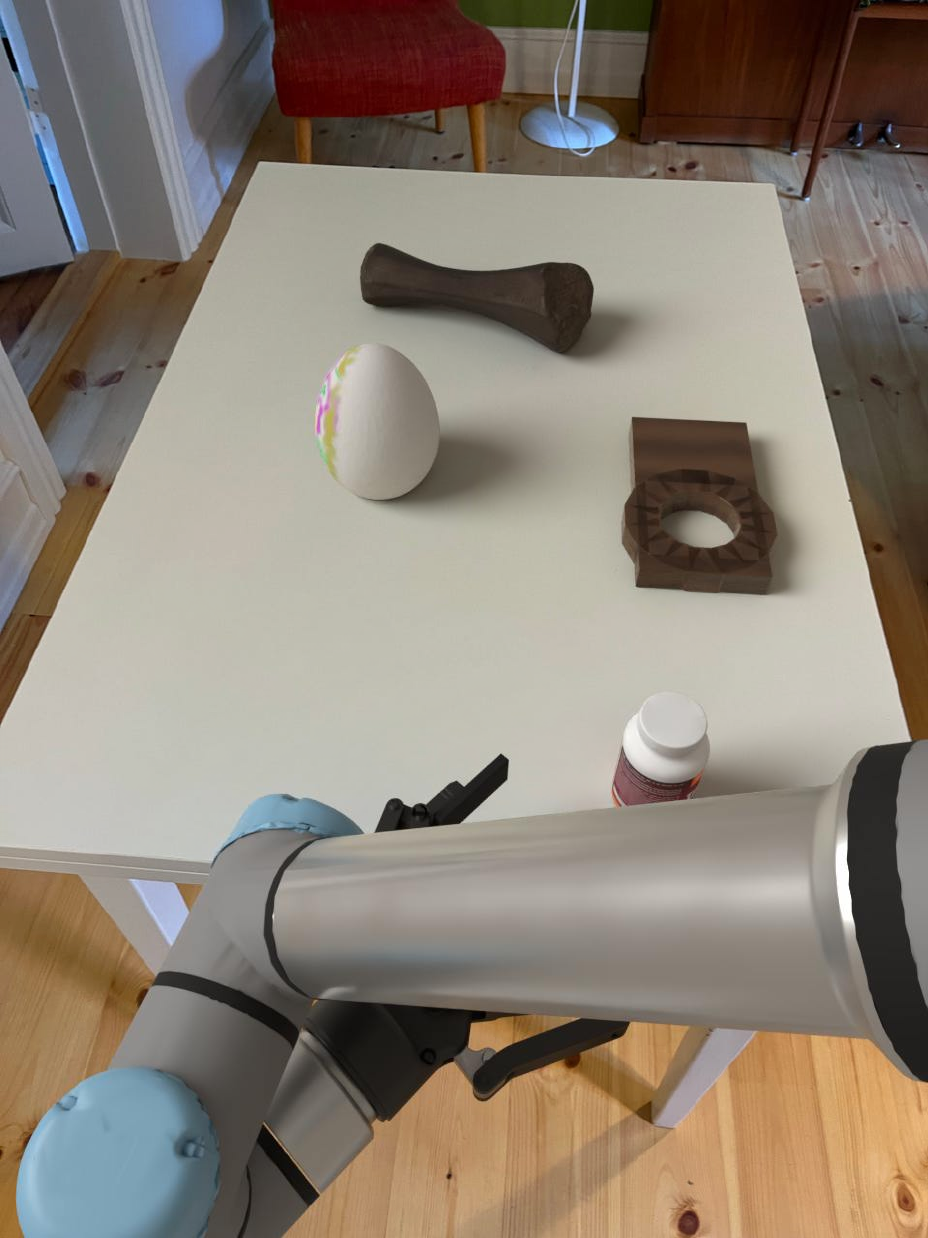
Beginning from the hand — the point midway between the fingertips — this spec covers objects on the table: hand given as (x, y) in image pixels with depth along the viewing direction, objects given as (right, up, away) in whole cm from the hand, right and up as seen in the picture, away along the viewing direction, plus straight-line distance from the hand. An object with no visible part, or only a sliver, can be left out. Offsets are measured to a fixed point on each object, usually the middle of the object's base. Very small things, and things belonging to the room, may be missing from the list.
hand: (579, 828), depth 62 cm
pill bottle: (+7, 0, +11) cm, 13 cm away
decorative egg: (-16, +29, +35) cm, 48 cm away
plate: (+15, +25, +31) cm, 43 cm away
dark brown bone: (-7, +50, +52) cm, 72 cm away
